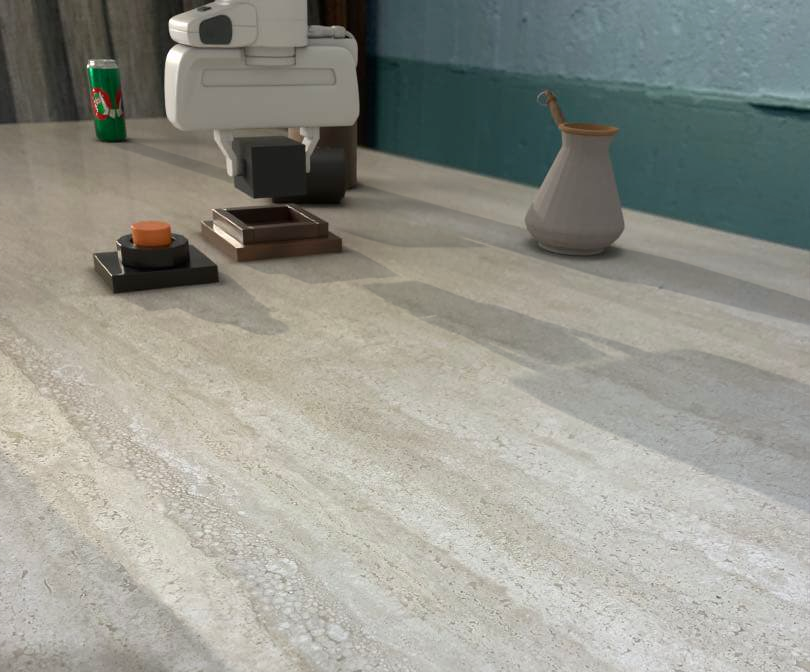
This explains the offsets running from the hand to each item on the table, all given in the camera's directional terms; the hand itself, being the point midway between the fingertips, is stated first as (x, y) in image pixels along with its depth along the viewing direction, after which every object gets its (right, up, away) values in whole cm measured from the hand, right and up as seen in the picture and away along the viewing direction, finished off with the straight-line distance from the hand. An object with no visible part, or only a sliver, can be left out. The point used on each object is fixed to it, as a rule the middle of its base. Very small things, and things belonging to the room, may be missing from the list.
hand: (268, 174), depth 93 cm
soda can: (-35, +29, +55) cm, 71 cm away
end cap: (+1, +5, +22) cm, 23 cm away
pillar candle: (+3, +12, +32) cm, 35 cm away
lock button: (-10, -11, -10) cm, 18 cm away
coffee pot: (+33, -2, +13) cm, 36 cm away
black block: (0, -1, +1) cm, 2 cm away
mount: (0, -6, +4) cm, 7 cm away
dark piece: (-10, -14, -8) cm, 19 cm away
